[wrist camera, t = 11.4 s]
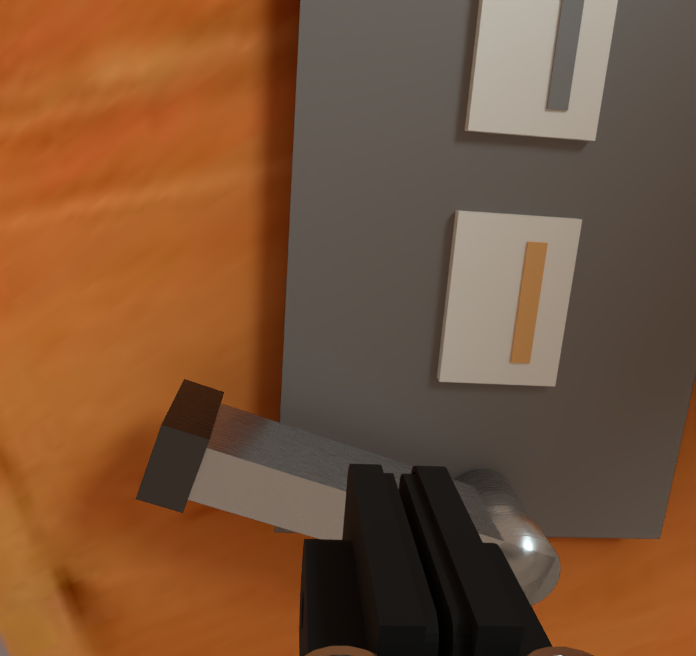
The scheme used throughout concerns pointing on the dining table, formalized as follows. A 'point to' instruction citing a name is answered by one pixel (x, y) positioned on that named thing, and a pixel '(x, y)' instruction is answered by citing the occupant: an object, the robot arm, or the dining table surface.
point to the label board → (499, 245)
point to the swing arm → (312, 481)
